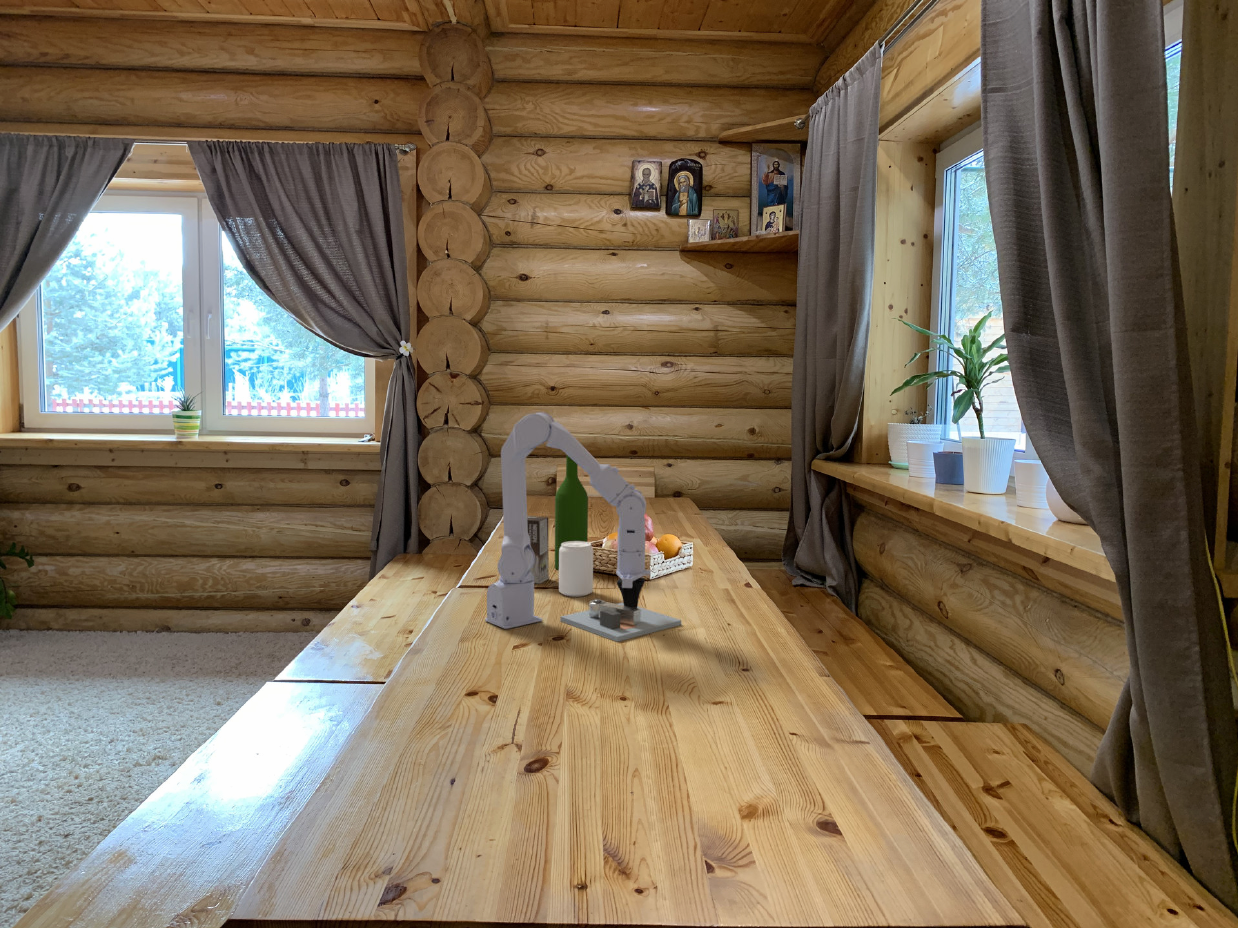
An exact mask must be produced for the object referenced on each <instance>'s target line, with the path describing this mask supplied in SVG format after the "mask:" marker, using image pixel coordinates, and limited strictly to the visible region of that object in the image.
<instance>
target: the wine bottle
mask: <svg viewBox="0 0 1238 928" xmlns="http://www.w3.org/2000/svg"><path fill="white" fill-rule="evenodd" d="M578 467H579V465H578V464H577V463H576V462H575V461H573V460H572V459H571V458H570V457H569V456H568V455H567V454H566V461H565V477H564V480H563V481H562V482H561V484H560V485H559V487H558V488H557V490H556V492H555V497H554V568H555V570H557V571H559V549H560V547H561V546H562V545H561V544H562V543H564V542H569V541H583V542H588V539H589V538H588V537H589V536H588V535H589V534H588V533H589V532H588V531H589V530H588V529H589V526H588V523H589V516H588V515H589V496H588V492H587V491H586V488H585V487H584V485H583V483H582V482H581V480H580V479H579V476H578V474H579V473H578V470H579V469H578Z"/></svg>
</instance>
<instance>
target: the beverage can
mask: <svg viewBox="0 0 1238 928" xmlns="http://www.w3.org/2000/svg"><path fill="white" fill-rule="evenodd" d="M561 545H562V546H561V547H560V549H559V570H558V591H559V593H561V595H562V594H563V595H564V596H566V597H572V598H573V597H574V598H577V597H580V598H581V597H585V596H587V595H589V594H591V593H593V590H594V589H593V588H594V587H593V586H594V549H593V547H592V543H590V541H589V542H583V541H569V542H564V543H562V544H561Z"/></svg>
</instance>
